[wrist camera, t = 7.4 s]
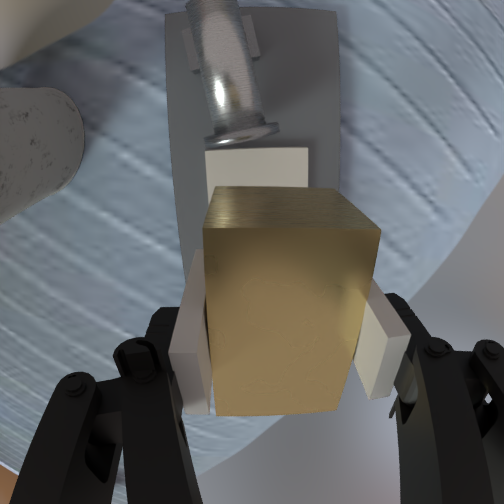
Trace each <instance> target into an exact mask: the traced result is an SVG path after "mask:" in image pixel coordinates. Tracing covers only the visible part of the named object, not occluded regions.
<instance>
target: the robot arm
mask: <svg viewBox="0 0 504 504" xmlns="http://www.w3.org/2000/svg"><path fill="white" fill-rule="evenodd" d="M113 358H114V361H115V363H116V366H117V368H118V371H119V373H120V376H121V377H119V378H115V379H112V380H106V381H100V382H96V381H95V379H94V377H93V376H91V375H90V374H89V373H85V372H74V373H71V374H68V375H66V376H65V377H64V378H62V379H61V380H60V381H59V383H58V384H57V386H56V388H55V390H54V392H53V394H52V396H51V398H50V401H49V403H48V405H47V407H46V409H45V412H44V414H43V416H42V418H41V421H40V423H39V425H38V428H37V430H36V432H35V435H34V437H33V440H32V442H31V444H30V447H29V449H28V452H27V455H26V457H25V460H24V462H23V465H22V468H21V471H20V473H19V476H18V479H17V482H16V485H15V488H14V491H13V494H12V497H11V500H10V503H9V504H111V501H112V495H113V490H114V485H115V480H116V475H117V470H118V466H119V461H120V456H121V452H122V447H123V457H124V470H125V482H126V491H127V500H128V504H203V502H202V498H201V495H200V491H199V487H198V483H197V479H196V475H195V471H194V467H193V463H192V459H191V455H190V451H189V446H188V442H187V437H186V432H185V428H184V424H183V421H182V418H181V415H182V408H183V407H184V411H185V414H209V412H210V397H211V384H212V368H211V357H210V345H209V333H208V320H207V305H206V290H205V273H204V254H203V249H196V251H195V254H194V258H193V261H192V265H191V268H190V272H189V275H188V279H187V283H186V286H185V290H184V293H183V297H182V301H181V305H180V307H160V308H159V309H158V310H157V311H156V312H155V313H154V314H153V315H152V318H151V320H150V323H149V327H148V329H147V331H146V334H145V337H136V338H132V339H129V340H126V341H125V342H123V343H121V344H120V345H119V346H118V347H117V348H116V349H115V351H114V354H113ZM353 361H354V363H355V366H356V368H357V371H358V373H359V376H360V379H361V381H362V384H363V386H364V389H365V391H366V394H367V396H368V399H369V400H373V399H378V398H383V397H388V396H390V393H391V391H392V388H393V386H395V388H396V390H397V392H398V395H397V398H396V400H395V402H394V404H393V407H392V409H391V411H390V414H389V418H392V417H393V415H394V412H395V411H396V421H397V433H398V447H399V463H400V491H401V492H400V497H401V499H400V500H401V504H504V348H503V347H502V346H501V345H500V344H499V343H497V342H495V341H492V340H481V341H478V342H477V343H476V345H475V347H474V349H473V351H472V352H471V351H454V350H453V348H452V346H451V345H450V344H449V343H448V342H446V341H445V340H443V339H440V338H436V337H431V335H430V334H429V333H428V332H427V330H426V328H425V327H424V326H423V324H422V323H421V321H420V320H419V319H418V317H417V316H415V313H414V312H413V311H412V309H410V307H409V305H408V304H407V303H406V301H405V300H404V299H403V298H401V297H400V296H398V295H397V294H395V293H388V294H384V293H383V292H382V291H381V289H380V288H379V286H378V285H377V283H376V282H375V281H374V279H373V278H372V282H371V287H370V291H369V296H368V300H367V301H366V306H365V311H364V317H363V321H362V325H361V329H360V333H359V337H358V341H357V344H356V348H355V352H354V355H353ZM488 393H489V395H490V396H491V398H492V400H491V402H490V403H489V404H488V403H487V402H486V401H485V398H486V396H487V394H488Z"/></svg>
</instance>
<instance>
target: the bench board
mask: <svg viewBox="0 0 504 504" xmlns="http://www.w3.org/2000/svg"><path fill="white" fill-rule="evenodd" d="M239 9H240V13H241V16H246V15H251V18H252V22H253V26H254V30H255V34H256V38H257V43H258V47H259V51H260V55H261V56H260V59H259V61H255V62H253V67H254V71H255V75H256V80H257V84H258V89H259V93H260V98H261V102H262V107H263V111H264V116H265V121H266V123H268V122H278V123H279V128H280V133H277V134H274V135H271V136H267V137H263V138H259V139H255V140H250V141H246V142H241V143H236V144H231V145H226V146H221V147H215V148H206V147H205V143H204V139H203V138H204V137H206V136H209V135H212V134H215V132H214V128H213V124H212V120H211V115H210V111H209V107H208V103H207V98H206V94H205V90H204V85H203V81H202V77H201V73H200V74H196V75H195V74H193V73H192V72H191V70H190V66H189V62H188V57H187V53H186V48H185V44H184V40H183V35H182V31H181V30H183V29H187V28H190V24H189V20H188V16H187V11H186V12H178V13H171V14H165V60H166V88H167V108H168V124H169V138H170V151H171V163H172V174H173V185H174V195H175V204H176V213H177V222H178V230H179V238H180V246H181V254H182V261H183V268H184V275H185V282H186V283H187V279H188V275H189V272H190V268H191V265H192V261H193V258H194V254H195V251H196V249H203V232H202V227H203V224H204V221H205V217H206V214H207V211H208V208H209V203H208V189H207V175H206V160H205V150H216V149H233V148H258V147H308V187H312V188H334V189H335V190H336V191H338V192H339V173H340V68H339V45H338V28H337V15H336V12H335V11H326V10H316V9H304V8H285V7H239Z"/></svg>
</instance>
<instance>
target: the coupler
mask: <svg viewBox="0 0 504 504" xmlns="http://www.w3.org/2000/svg"><path fill="white" fill-rule="evenodd" d="M202 232H203V254H204V273H205V290H206V305H207V320H208V333H209V345H210V357H211V368H212V379H213V390H214V400H215V409H216V416H269V415H288V414H302V413H314V412H324V411H334V410H337V407H338V403H339V401H340V398H341V395H342V392H343V389H344V385H345V382H346V379H347V375H348V372H349V369H350V365H351V362H352V359H353V355H354V352H355V348H356V344H357V341H358V337H359V333H360V329H361V325H362V321H363V317H364V311H365V306H366V301H367V300H368V296H369V291H370V287H371V282H372V277H373V272H374V268H375V262H376V257H377V252H378V246H379V241H380V235H381V229H380V228H379V227H378V226H377V225H376V224H375V223H373V222H372V221H371V220H370V219H369V218H368V217H367V216H366V215H364V214H363V213H362V212H361V211H360V210H359V209H358V208H356V207H355V206H354V205H353V204H352V203H351V202H350V201H348V200H347V199H346V198H345V197H344V196H342V195H341V194H340V193H339V192H338V191H336V190H335V189H334V188H312V187H278V186H215V188H214V192H213V195H212V198H211V201H210V204H209V208H208V211H207V214H206V217H205V221H204V224H203V227H202Z"/></svg>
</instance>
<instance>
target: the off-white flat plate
mask: <svg viewBox="0 0 504 504" xmlns="http://www.w3.org/2000/svg"><path fill="white" fill-rule="evenodd" d="M205 160H206V175H207V189H208V203H209V204H210V201H211V198H212V195H213V192H214V188H215V186H278V187H308V147H258V148H233V149H216V150H205Z"/></svg>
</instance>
